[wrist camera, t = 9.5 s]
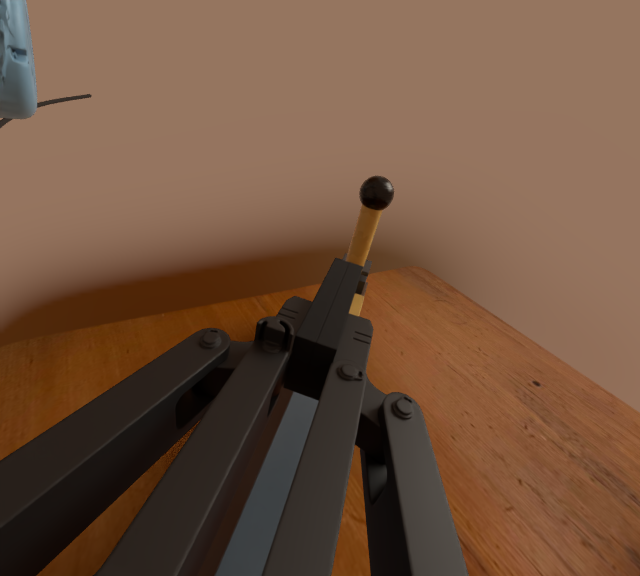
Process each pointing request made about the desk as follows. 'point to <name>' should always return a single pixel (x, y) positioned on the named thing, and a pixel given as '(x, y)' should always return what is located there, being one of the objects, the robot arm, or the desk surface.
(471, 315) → the desk surface
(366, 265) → the sliding lever mechanism
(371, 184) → the bolt
